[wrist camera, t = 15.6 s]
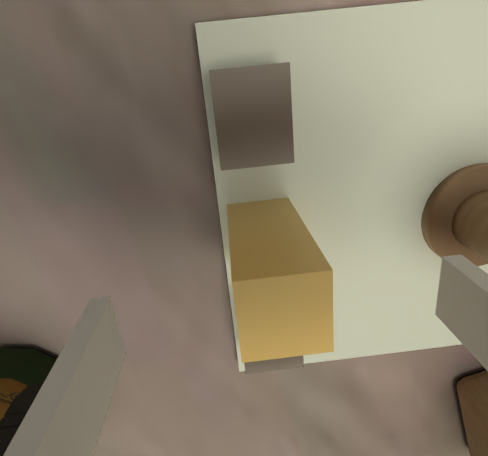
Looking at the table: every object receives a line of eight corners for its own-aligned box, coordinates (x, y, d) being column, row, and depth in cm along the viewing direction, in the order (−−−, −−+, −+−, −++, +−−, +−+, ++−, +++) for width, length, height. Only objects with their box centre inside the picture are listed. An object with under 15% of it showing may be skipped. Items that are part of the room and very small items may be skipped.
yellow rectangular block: (226, 204, 24) (231, 281, 14) (288, 197, 24) (332, 269, 14) (233, 260, 25) (241, 363, 16) (291, 253, 25) (333, 351, 16)
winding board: (196, 26, 21) (194, 23, 20) (571, -11, 22) (591, -17, 20) (238, 360, 30) (239, 371, 29) (504, 328, 30) (515, 337, 29)
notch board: (210, 72, 21) (208, 70, 18) (280, 64, 21) (289, 62, 18) (242, 344, 28) (245, 373, 25) (295, 338, 28) (303, 366, 25)
